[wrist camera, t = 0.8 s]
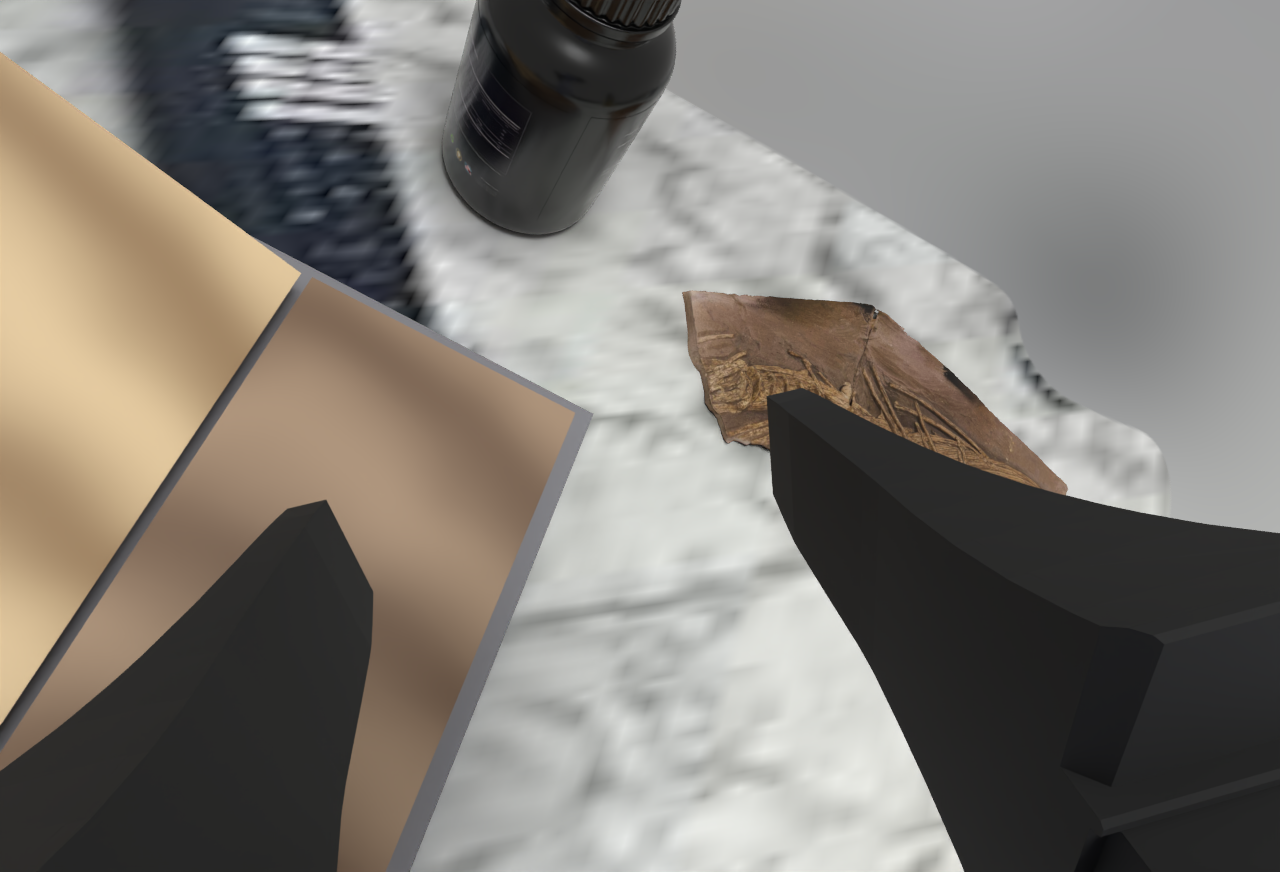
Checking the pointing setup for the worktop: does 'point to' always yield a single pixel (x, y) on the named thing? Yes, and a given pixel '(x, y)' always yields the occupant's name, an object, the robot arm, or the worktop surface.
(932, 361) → the wooden fragment
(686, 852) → the worktop surface
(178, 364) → the oak plank
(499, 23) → the supplement bottle
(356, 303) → the walnut floorboard
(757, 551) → the worktop surface
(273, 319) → the underlay mat
